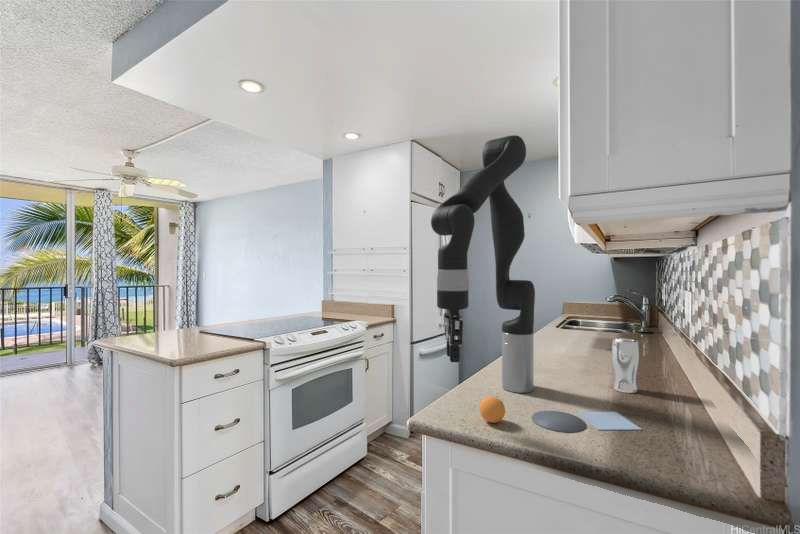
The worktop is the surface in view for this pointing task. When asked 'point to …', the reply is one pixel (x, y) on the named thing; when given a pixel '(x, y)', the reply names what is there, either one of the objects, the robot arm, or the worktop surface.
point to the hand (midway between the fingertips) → (452, 358)
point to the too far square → (608, 421)
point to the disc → (558, 421)
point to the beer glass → (625, 364)
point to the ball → (492, 409)
